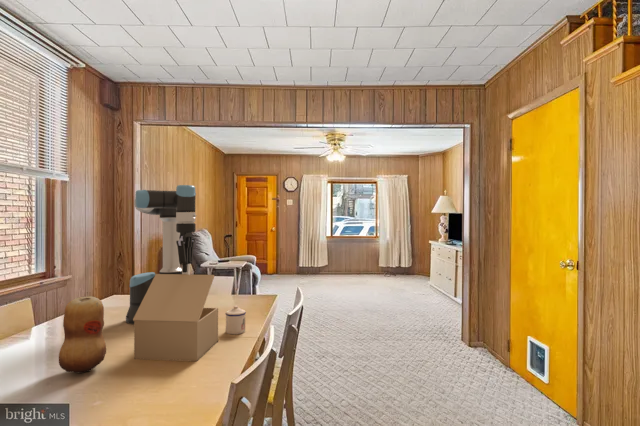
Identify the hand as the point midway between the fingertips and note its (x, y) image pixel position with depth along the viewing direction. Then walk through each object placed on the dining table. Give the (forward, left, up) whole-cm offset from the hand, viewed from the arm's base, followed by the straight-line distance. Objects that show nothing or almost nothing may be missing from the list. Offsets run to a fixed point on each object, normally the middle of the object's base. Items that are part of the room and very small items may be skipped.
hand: (186, 279), depth 158 cm
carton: (0, -6, -26) cm, 27 cm away
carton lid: (0, -9, -5) cm, 11 cm away
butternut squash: (-23, -29, -27) cm, 46 cm away
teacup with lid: (+15, +20, -27) cm, 36 cm away
